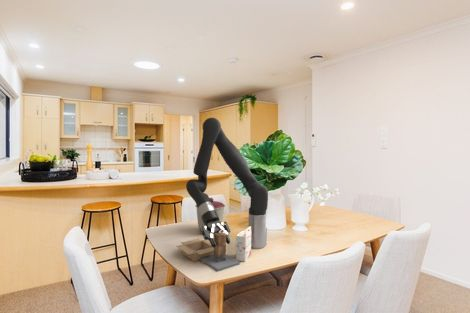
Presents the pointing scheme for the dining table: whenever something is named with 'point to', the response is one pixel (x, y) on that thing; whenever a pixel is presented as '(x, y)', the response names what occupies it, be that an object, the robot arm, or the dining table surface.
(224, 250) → the walnut block
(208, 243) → the carton
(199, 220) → the canister
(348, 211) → the dining table surface
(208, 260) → the mat
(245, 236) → the ink cartridge box
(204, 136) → the robot arm
